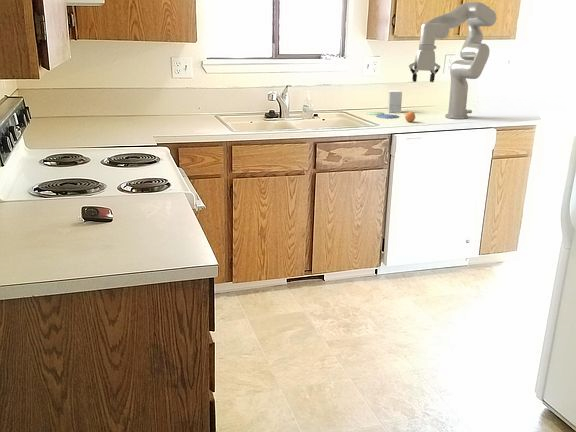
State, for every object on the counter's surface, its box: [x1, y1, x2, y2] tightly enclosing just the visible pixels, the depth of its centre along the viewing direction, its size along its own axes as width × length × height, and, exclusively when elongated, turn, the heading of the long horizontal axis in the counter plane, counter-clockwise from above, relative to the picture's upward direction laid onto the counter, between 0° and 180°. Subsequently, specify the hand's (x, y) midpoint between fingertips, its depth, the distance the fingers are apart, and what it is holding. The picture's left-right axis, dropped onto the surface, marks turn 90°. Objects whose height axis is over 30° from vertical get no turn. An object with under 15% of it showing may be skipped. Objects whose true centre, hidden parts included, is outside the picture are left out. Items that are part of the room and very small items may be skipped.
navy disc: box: [375, 113, 400, 119], centre depth 345 cm, size 13×13×1 cm
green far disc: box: [367, 111, 385, 116], centre depth 355 cm, size 10×10×1 cm
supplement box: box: [387, 89, 403, 114], centre depth 359 cm, size 7×7×13 cm
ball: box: [404, 111, 416, 123], centre depth 327 cm, size 6×6×6 cm
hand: (423, 81), depth 315 cm, fingers open, 9 cm apart
